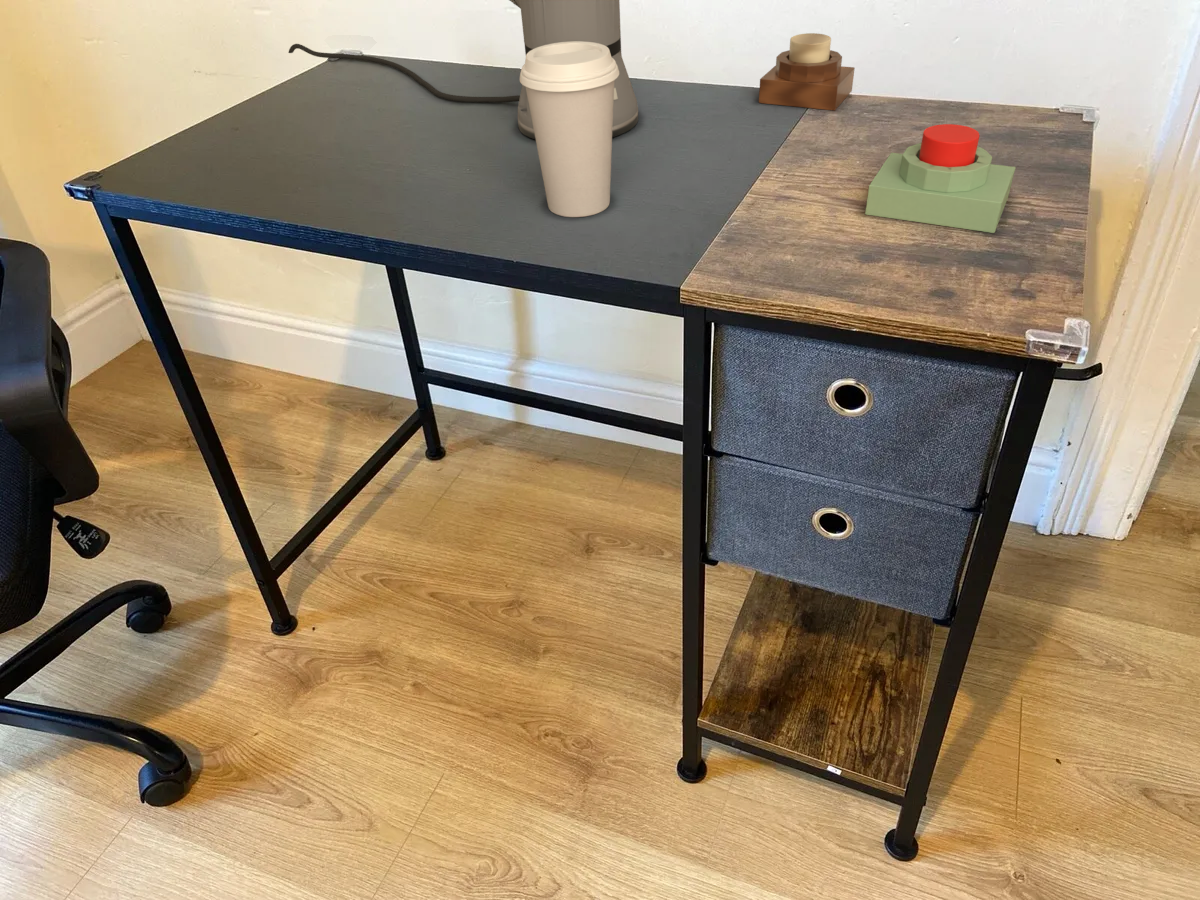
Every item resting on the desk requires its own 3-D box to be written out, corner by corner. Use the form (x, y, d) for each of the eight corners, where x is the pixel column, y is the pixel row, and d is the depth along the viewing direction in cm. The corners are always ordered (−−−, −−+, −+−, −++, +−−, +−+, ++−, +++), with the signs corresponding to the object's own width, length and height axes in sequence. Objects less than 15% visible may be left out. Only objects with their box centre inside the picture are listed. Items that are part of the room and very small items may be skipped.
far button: (783, 63, 111) (785, 42, 109) (795, 53, 114) (797, 32, 112) (822, 67, 109) (824, 45, 107) (833, 55, 112) (835, 34, 110)
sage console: (864, 214, 86) (871, 164, 83) (886, 180, 92) (894, 132, 89) (994, 233, 81) (1007, 181, 78) (1008, 196, 87) (1020, 146, 84)
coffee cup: (627, 185, 95) (622, 37, 86) (620, 223, 88) (613, 66, 78) (541, 186, 96) (526, 40, 87) (526, 224, 89) (508, 69, 79)
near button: (913, 165, 83) (918, 139, 82) (924, 147, 87) (929, 121, 85) (969, 172, 81) (974, 145, 80) (978, 153, 85) (983, 127, 83)
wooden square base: (758, 103, 113) (760, 62, 110) (778, 84, 119) (781, 45, 116) (834, 110, 110) (839, 68, 106) (851, 91, 115) (856, 50, 112)
